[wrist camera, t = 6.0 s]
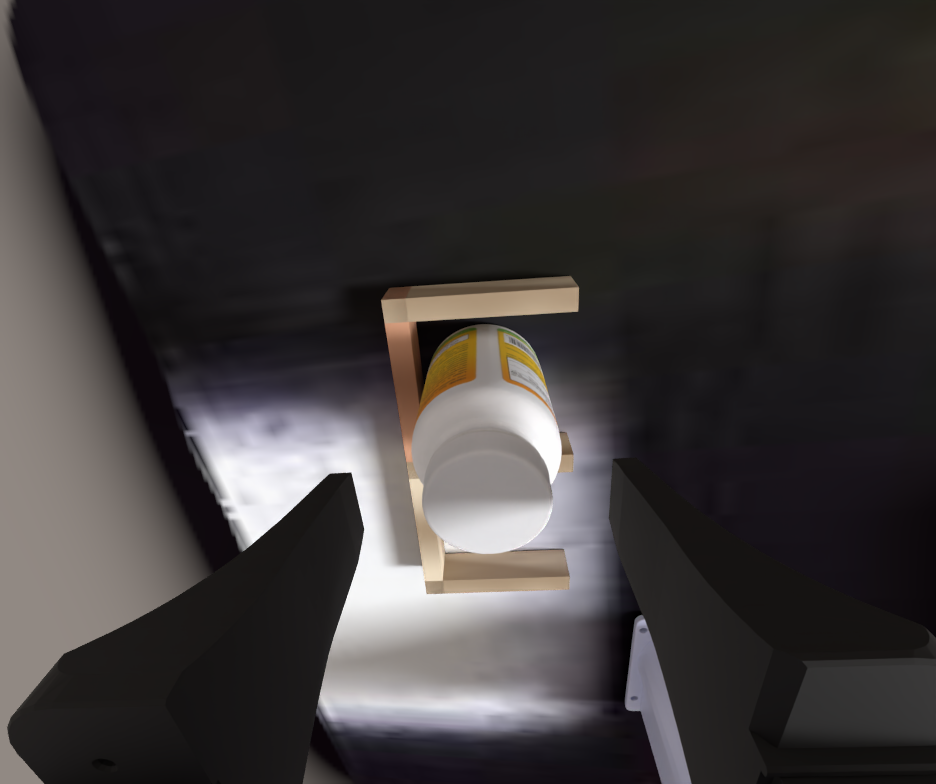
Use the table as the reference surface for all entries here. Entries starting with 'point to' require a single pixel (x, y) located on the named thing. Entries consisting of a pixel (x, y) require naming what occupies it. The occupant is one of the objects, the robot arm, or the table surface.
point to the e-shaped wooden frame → (405, 359)
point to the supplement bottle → (486, 441)
